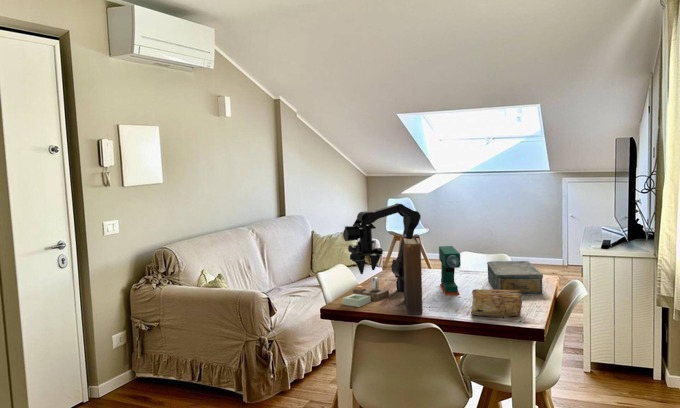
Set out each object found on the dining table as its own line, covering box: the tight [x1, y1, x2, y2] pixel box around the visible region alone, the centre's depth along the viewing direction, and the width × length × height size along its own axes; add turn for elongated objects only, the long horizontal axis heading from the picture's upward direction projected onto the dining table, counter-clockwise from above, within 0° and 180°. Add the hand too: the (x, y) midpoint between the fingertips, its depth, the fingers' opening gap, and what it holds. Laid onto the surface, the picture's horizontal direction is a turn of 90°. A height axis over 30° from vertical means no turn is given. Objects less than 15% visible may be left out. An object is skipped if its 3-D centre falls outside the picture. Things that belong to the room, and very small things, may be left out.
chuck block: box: [362, 288, 390, 301], centre depth 253 cm, size 9×9×3 cm
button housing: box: [352, 287, 367, 295], centre depth 259 cm, size 4×4×3 cm
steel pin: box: [370, 276, 380, 293], centre depth 253 cm, size 3×3×9 cm
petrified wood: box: [470, 288, 523, 318], centre depth 219 cm, size 19×13×10 cm
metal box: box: [486, 260, 544, 295], centre depth 263 cm, size 21×32×10 cm, turn 173°
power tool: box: [438, 245, 462, 296], centre depth 254 cm, size 32×7×20 cm, turn 177°
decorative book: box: [401, 233, 424, 315], centre depth 233 cm, size 23×7×30 cm, turn 176°
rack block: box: [341, 293, 371, 308], centre depth 244 cm, size 9×9×3 cm
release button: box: [355, 285, 364, 290], centre depth 259 cm, size 3×3×4 cm
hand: (367, 272), depth 255 cm, fingers open, 9 cm apart
